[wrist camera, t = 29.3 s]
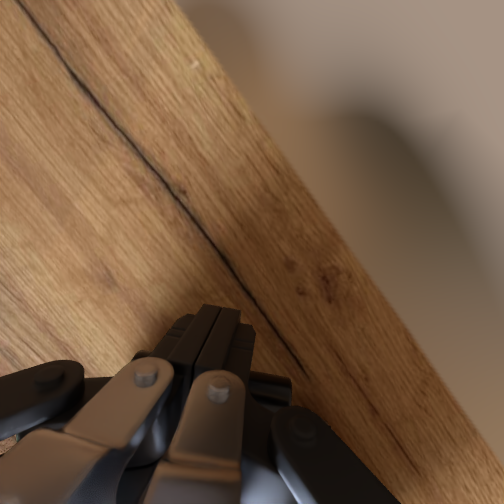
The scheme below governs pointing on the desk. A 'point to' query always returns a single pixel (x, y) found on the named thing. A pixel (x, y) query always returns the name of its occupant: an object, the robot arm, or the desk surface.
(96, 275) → the desk surface
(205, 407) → the robot arm
